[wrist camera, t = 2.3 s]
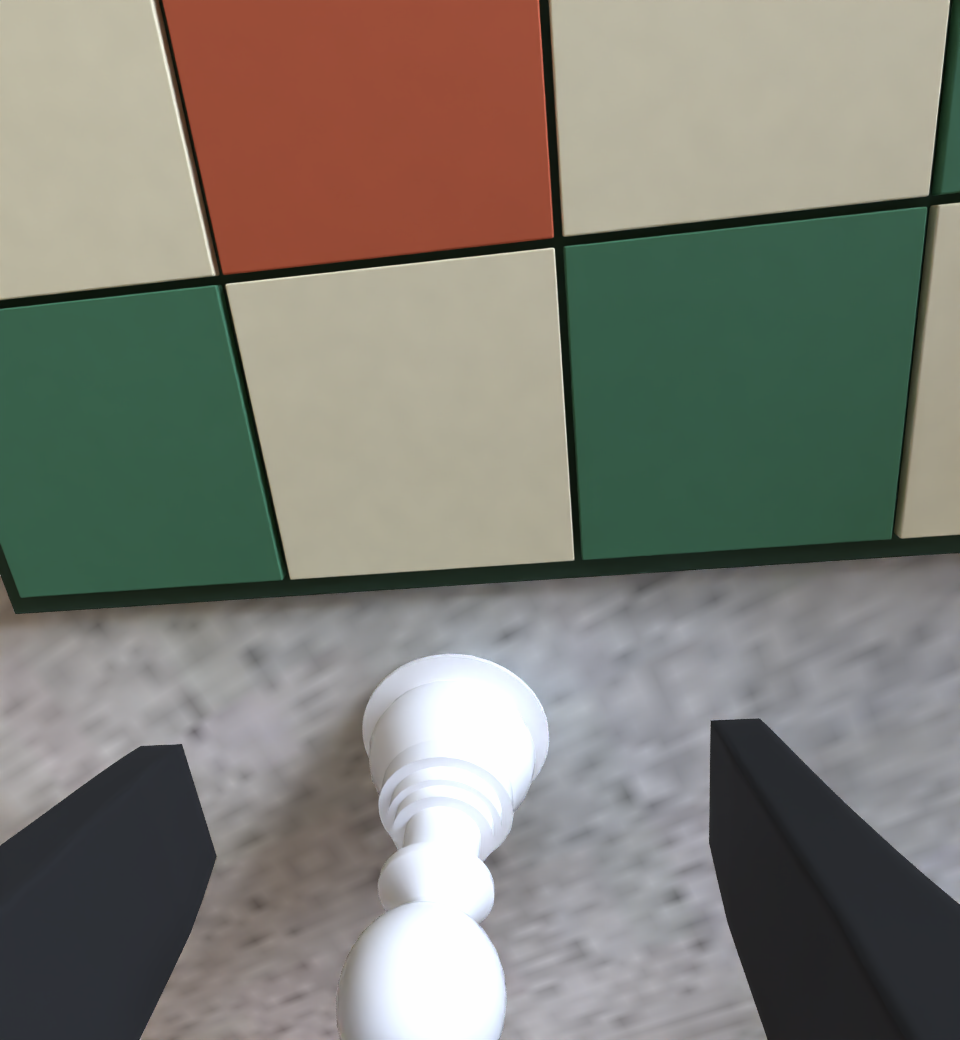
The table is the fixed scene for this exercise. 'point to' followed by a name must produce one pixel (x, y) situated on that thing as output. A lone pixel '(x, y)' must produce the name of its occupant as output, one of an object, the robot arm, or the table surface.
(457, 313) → the chess mat
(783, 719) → the table surface
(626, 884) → the table surface
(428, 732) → the chess pawn
